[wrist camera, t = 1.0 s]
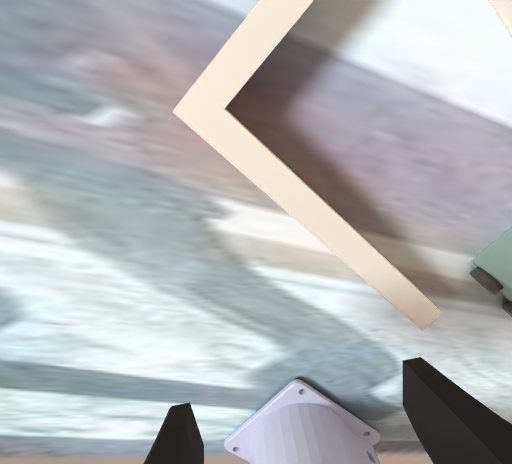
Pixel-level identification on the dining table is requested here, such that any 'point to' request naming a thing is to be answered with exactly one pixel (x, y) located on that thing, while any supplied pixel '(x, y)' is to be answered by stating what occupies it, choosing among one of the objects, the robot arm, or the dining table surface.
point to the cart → (496, 268)
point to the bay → (277, 172)
